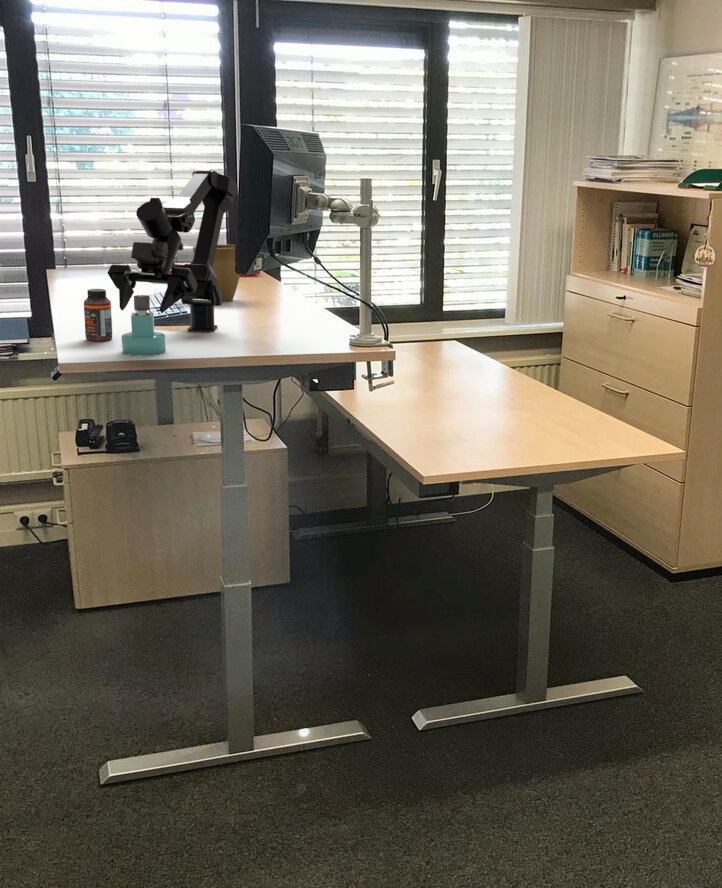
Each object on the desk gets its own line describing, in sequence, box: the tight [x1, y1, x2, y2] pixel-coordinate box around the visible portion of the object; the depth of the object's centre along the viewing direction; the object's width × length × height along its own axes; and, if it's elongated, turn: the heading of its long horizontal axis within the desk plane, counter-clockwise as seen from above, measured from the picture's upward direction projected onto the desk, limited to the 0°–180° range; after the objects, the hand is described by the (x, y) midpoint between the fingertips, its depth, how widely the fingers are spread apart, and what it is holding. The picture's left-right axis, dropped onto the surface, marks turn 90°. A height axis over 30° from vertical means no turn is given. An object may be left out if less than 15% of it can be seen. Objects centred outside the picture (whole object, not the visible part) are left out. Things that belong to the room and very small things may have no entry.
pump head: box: [133, 294, 151, 316], centre depth 195 cm, size 3×3×8 cm
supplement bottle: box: [83, 288, 113, 342], centre depth 208 cm, size 6×6×11 cm
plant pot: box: [192, 244, 241, 303], centre depth 273 cm, size 15×15×16 cm
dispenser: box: [121, 312, 166, 356], centre depth 196 cm, size 9×9×8 cm
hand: (141, 310), depth 194 cm, fingers open, 9 cm apart
